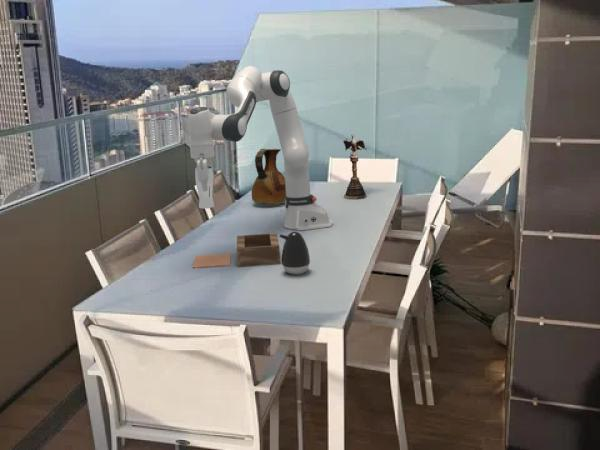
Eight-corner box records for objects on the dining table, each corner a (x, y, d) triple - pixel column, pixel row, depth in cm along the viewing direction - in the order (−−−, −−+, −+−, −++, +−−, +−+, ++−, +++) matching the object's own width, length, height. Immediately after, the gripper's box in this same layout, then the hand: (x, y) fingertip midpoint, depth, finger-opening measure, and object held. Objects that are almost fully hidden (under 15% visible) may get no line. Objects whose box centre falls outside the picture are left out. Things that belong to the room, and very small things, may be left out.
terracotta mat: (230, 254, 247) (230, 253, 247) (229, 265, 234) (229, 264, 234) (195, 257, 246) (195, 255, 246) (192, 268, 233) (192, 267, 233)
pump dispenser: (282, 268, 228) (280, 228, 224) (310, 267, 228) (308, 227, 224) (280, 277, 218) (278, 236, 214) (310, 276, 218) (308, 235, 214)
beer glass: (219, 205, 236) (216, 166, 233) (211, 209, 230) (208, 169, 226) (203, 204, 239) (200, 165, 235) (194, 208, 232) (191, 168, 228)
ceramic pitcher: (296, 201, 333) (293, 146, 325) (275, 210, 316) (271, 151, 309) (266, 198, 343) (263, 144, 335) (244, 206, 327) (240, 150, 319)
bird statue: (346, 192, 348) (344, 130, 339) (369, 193, 345) (367, 130, 335) (339, 199, 333) (337, 134, 324) (363, 199, 329) (361, 133, 320)
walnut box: (238, 252, 249) (236, 235, 248) (277, 249, 251) (276, 232, 249) (237, 266, 232) (236, 248, 230) (280, 263, 233) (279, 245, 231)
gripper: (209, 155, 219) (213, 194, 223) (212, 147, 239) (215, 183, 243) (191, 157, 219) (195, 195, 222) (195, 149, 238) (199, 184, 242)
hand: (205, 188), depth 233 cm, fingers closed on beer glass, 6 cm apart
